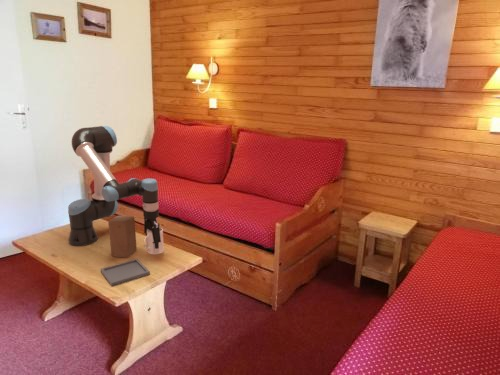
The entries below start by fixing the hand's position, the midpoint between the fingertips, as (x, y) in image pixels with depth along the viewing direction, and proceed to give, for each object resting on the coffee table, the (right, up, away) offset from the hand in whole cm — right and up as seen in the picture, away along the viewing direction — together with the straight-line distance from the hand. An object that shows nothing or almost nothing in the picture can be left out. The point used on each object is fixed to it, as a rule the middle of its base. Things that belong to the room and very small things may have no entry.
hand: (152, 250), depth 194 cm
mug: (0, -1, 0) cm, 1 cm away
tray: (-9, -8, -16) cm, 20 cm away
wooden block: (-16, -3, +4) cm, 17 cm away
